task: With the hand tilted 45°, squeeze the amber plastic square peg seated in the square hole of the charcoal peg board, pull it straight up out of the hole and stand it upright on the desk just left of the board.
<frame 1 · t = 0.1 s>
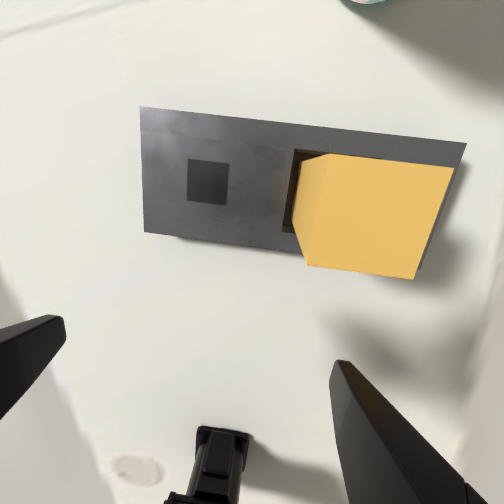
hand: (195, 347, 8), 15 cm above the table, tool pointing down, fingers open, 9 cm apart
charcoal peg board: (285, 189, 20), on the table
amber peg: (322, 194, 20), resting in charcoal peg board
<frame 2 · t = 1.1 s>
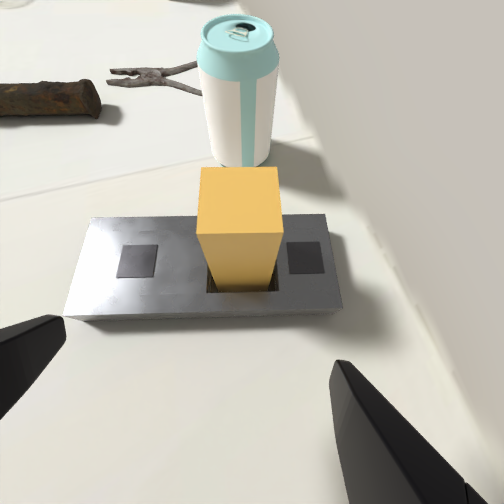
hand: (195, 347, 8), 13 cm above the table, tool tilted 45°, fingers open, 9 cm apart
pliers: (179, 87, 36), on the table
charcoal peg board: (211, 269, 23), on the table
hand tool: (31, 119, 32), on the table
can: (240, 153, 30), on the table
amber peg: (242, 269, 23), resting in charcoal peg board
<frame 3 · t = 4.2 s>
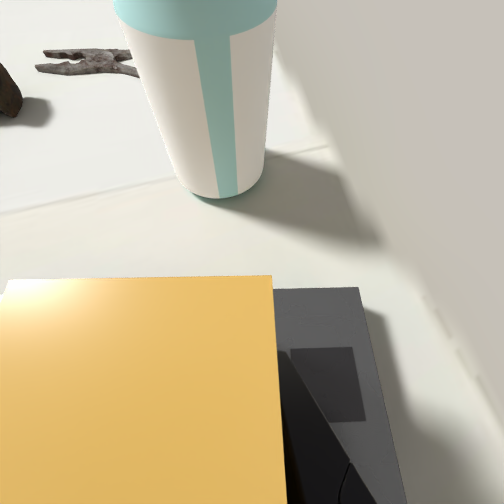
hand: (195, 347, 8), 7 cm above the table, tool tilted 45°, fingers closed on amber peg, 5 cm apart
pliers: (140, 75, 26), on the table
charcoal peg board: (157, 385, 13), on the table
can: (220, 170, 20), on the table
amber peg: (212, 383, 13), resting in charcoal peg board, touching gripper
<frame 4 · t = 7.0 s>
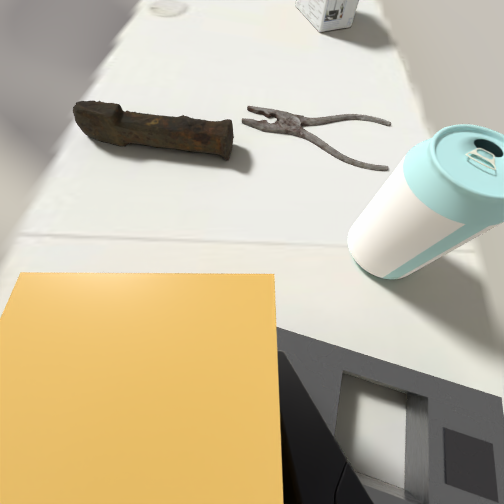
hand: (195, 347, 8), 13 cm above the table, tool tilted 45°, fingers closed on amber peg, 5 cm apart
light bulb box: (321, 18, 45), on the table
pliers: (316, 141, 32), on the table
charcoal peg board: (325, 410, 19), on the table
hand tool: (158, 149, 31), on the table
can: (378, 249, 25), on the table
amber peg: (215, 381, 13), point 7 cm above the table, touching gripper
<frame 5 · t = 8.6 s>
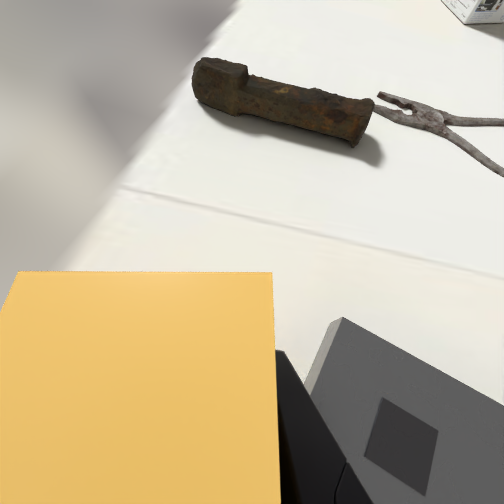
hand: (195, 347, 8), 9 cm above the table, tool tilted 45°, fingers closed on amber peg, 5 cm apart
light bulb box: (464, 10, 39), on the table
pliers: (458, 145, 26), on the table
charcoal peg board: (481, 496, 14), on the table
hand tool: (272, 124, 27), on the table
amber peg: (215, 381, 13), point 3 cm above the table, touching gripper
when the fingers open (8 cm above the table, at t = 9.7 s): amber peg drops 1 cm, on the table.
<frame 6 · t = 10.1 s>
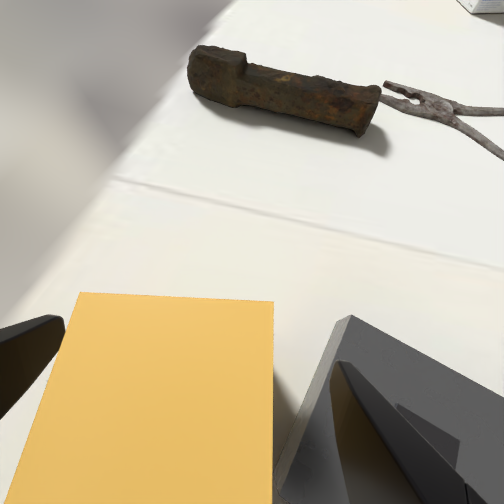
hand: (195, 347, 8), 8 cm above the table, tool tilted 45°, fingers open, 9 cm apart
light bulb box: (471, 0, 38), on the table
pliers: (468, 135, 25), on the table
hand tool: (273, 116, 26), on the table
amber peg: (217, 380, 15), on the table
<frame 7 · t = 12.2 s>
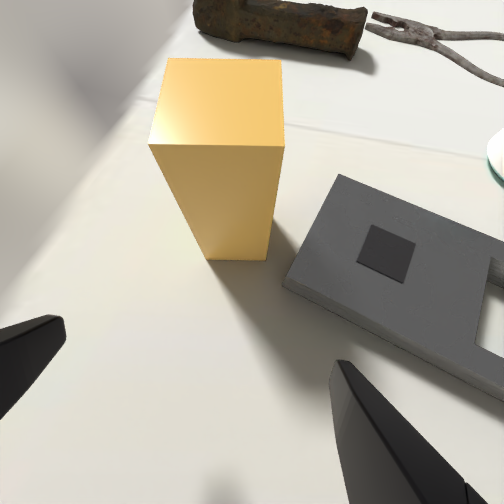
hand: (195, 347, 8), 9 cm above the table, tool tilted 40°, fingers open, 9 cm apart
pliers: (447, 57, 28), on the table
charcoal peg board: (451, 304, 17), on the table
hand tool: (272, 48, 29), on the table
amber peg: (237, 233, 19), on the table
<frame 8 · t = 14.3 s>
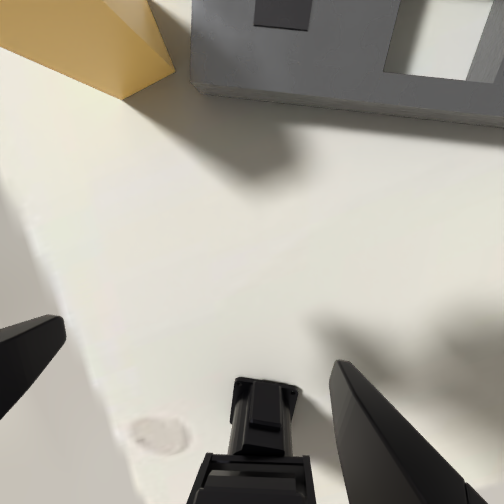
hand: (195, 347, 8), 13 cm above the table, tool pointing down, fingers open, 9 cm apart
charcoal peg board: (380, 29, 15), on the table
amber peg: (132, 50, 16), on the table
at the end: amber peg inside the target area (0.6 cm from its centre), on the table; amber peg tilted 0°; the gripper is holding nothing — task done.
